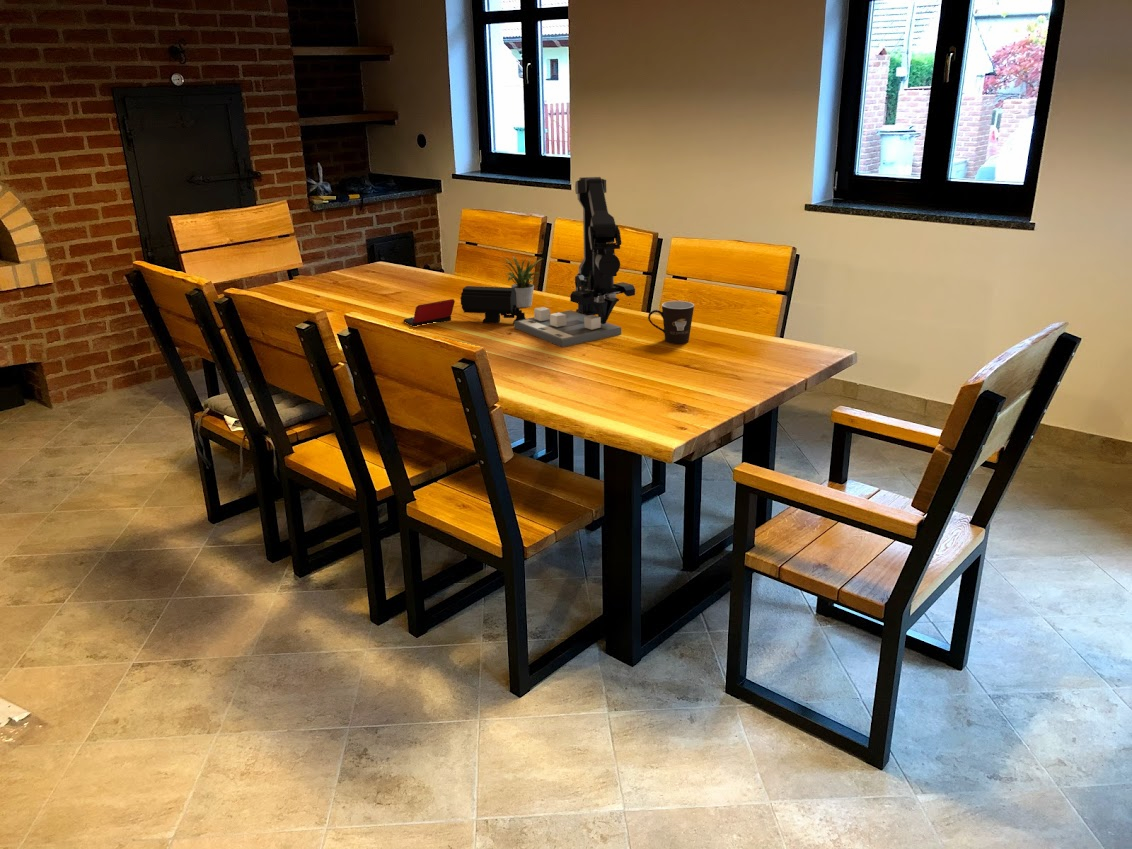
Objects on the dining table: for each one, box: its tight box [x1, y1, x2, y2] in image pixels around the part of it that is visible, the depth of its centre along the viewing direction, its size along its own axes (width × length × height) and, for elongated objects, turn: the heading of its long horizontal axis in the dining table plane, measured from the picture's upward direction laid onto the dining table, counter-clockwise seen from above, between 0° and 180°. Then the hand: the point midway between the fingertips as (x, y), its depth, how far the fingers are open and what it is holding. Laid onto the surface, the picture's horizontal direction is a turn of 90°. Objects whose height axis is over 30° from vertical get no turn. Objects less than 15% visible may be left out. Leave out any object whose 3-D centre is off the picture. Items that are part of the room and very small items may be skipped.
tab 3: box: [584, 314, 601, 330], centre depth 250 cm, size 3×3×3 cm
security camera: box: [460, 285, 526, 325], centre depth 264 cm, size 7×18×10 cm, turn 79°
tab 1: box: [533, 306, 551, 321], centre depth 259 cm, size 3×3×3 cm
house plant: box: [501, 253, 544, 309], centre depth 281 cm, size 14×14×16 cm
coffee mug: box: [647, 300, 695, 345], centre depth 244 cm, size 12×9×10 cm
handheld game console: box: [403, 298, 455, 327], centre depth 266 cm, size 12×11×7 cm
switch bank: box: [513, 309, 622, 348], centre depth 256 cm, size 20×24×2 cm
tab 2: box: [550, 311, 566, 327], centre depth 253 cm, size 3×3×3 cm
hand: (603, 323), depth 253 cm, fingers closed
